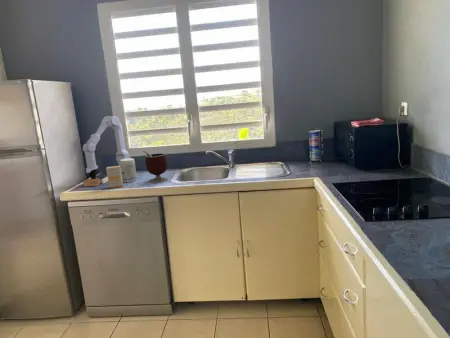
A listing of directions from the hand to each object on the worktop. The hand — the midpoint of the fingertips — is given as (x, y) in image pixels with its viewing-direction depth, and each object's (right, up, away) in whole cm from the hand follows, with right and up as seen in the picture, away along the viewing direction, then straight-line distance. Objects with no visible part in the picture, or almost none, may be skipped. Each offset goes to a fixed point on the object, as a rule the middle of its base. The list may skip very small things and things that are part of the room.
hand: (94, 181), depth 238 cm
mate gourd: (+43, 0, -3) cm, 43 cm away
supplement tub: (+23, 0, +2) cm, 23 cm away
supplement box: (+18, -3, -12) cm, 22 cm away
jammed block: (0, -3, -3) cm, 4 cm away
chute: (+1, 0, +8) cm, 8 cm away
